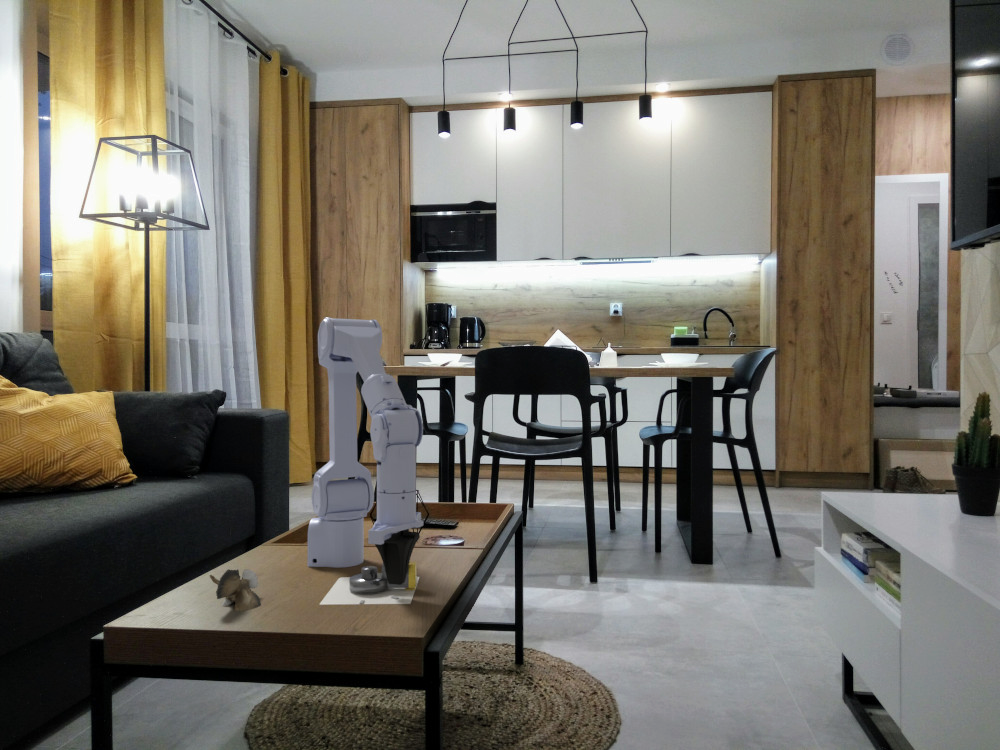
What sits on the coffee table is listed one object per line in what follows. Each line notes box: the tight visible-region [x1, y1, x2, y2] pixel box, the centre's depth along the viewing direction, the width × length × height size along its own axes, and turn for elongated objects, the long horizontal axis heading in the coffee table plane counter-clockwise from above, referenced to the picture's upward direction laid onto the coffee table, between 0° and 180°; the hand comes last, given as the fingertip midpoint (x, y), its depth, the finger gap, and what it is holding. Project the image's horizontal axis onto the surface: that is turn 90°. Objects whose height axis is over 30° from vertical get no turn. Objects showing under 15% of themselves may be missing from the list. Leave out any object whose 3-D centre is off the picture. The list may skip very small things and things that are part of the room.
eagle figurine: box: [209, 568, 262, 612], centre depth 99 cm, size 8×7×9 cm
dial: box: [349, 561, 418, 594], centre depth 106 cm, size 10×6×4 cm, turn 90°
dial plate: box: [318, 576, 420, 606], centre depth 106 cm, size 13×14×1 cm
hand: (396, 583), depth 102 cm, fingers closed
